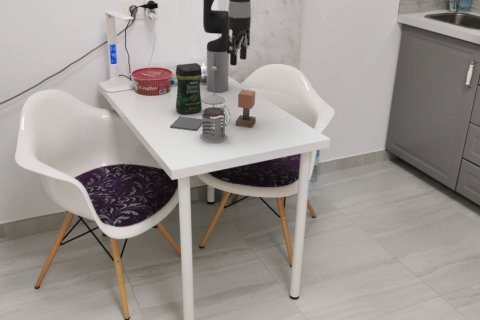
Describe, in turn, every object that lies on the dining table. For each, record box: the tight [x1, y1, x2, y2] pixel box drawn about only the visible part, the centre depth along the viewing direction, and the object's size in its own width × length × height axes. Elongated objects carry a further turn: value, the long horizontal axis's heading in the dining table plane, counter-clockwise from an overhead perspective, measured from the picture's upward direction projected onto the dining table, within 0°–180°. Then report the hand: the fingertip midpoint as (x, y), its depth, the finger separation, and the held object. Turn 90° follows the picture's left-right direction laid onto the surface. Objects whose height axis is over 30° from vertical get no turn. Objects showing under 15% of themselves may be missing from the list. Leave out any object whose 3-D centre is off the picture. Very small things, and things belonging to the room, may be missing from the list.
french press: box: [198, 66, 231, 144], centre depth 178 cm, size 10×12×25 cm
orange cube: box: [237, 89, 256, 110], centre depth 192 cm, size 5×5×5 cm
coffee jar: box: [175, 62, 203, 115], centre depth 202 cm, size 10×8×19 cm
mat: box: [169, 116, 203, 132], centre depth 194 cm, size 10×10×1 cm
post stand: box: [235, 108, 257, 128], centre depth 194 cm, size 6×6×11 cm
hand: (238, 62), depth 185 cm, fingers open, 8 cm apart
